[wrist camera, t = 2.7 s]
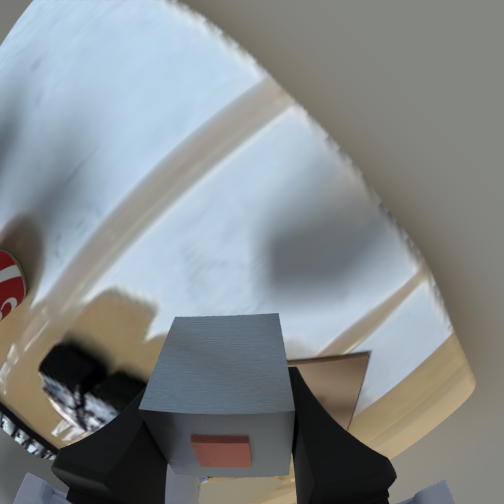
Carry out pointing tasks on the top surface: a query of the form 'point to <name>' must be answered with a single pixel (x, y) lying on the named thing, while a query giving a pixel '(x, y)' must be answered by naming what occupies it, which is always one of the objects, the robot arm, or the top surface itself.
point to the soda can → (10, 283)
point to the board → (335, 383)
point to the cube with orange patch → (222, 397)
